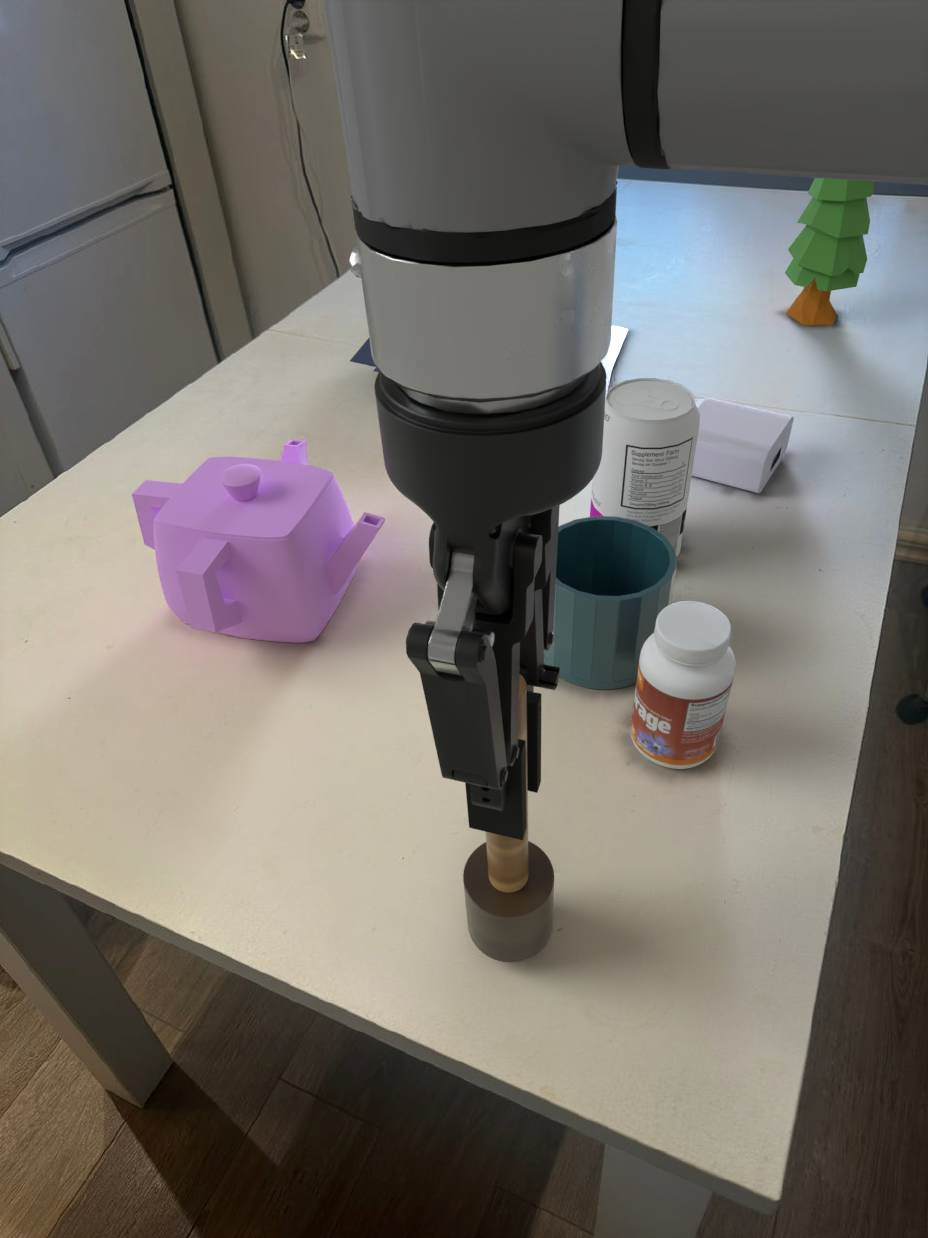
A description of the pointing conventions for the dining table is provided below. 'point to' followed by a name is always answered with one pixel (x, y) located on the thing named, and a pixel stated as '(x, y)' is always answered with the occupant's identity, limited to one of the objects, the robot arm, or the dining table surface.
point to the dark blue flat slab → (608, 361)
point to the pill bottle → (683, 685)
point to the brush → (510, 887)
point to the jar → (607, 598)
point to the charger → (739, 443)
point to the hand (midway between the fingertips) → (505, 803)
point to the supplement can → (647, 455)
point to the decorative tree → (829, 247)
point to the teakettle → (254, 545)
